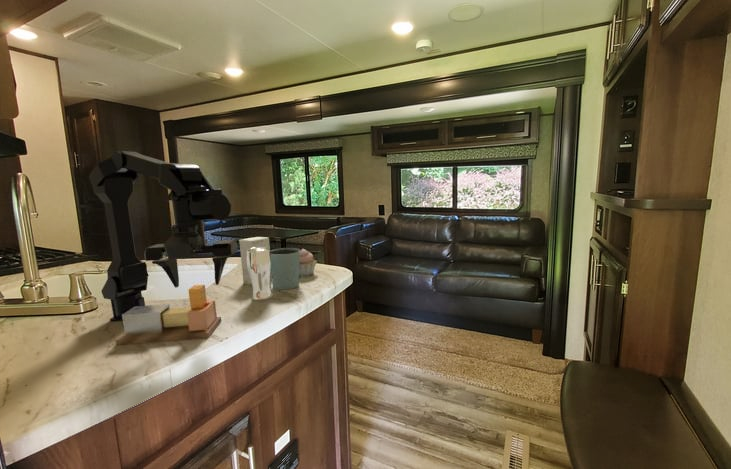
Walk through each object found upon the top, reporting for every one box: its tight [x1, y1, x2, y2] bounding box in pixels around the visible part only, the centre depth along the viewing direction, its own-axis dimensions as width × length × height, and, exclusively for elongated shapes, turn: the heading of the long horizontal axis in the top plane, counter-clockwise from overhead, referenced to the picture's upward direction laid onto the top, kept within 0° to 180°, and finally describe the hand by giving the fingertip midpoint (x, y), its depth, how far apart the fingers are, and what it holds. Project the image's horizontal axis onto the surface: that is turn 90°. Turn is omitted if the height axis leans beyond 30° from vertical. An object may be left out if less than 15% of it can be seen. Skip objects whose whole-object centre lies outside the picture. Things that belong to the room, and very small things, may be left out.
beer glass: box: [247, 247, 274, 301], centre depth 101 cm, size 7×7×15 cm
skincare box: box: [239, 236, 273, 286], centre depth 117 cm, size 8×7×16 cm
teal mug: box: [270, 247, 301, 291], centre depth 112 cm, size 10×10×12 cm
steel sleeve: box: [122, 303, 171, 335], centre depth 79 cm, size 8×5×5 cm, turn 96°
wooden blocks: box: [160, 284, 208, 327], centre depth 79 cm, size 12×3×9 cm, turn 96°
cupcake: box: [299, 248, 318, 278], centre depth 124 cm, size 9×9×10 cm
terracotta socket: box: [187, 300, 218, 331], centre depth 80 cm, size 4×7×5 cm, turn 6°
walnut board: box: [114, 316, 222, 346], centre depth 80 cm, size 20×9×1 cm, turn 96°
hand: (197, 285), depth 79 cm, fingers open, 9 cm apart
